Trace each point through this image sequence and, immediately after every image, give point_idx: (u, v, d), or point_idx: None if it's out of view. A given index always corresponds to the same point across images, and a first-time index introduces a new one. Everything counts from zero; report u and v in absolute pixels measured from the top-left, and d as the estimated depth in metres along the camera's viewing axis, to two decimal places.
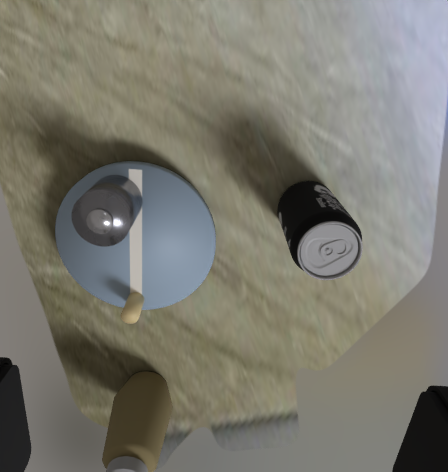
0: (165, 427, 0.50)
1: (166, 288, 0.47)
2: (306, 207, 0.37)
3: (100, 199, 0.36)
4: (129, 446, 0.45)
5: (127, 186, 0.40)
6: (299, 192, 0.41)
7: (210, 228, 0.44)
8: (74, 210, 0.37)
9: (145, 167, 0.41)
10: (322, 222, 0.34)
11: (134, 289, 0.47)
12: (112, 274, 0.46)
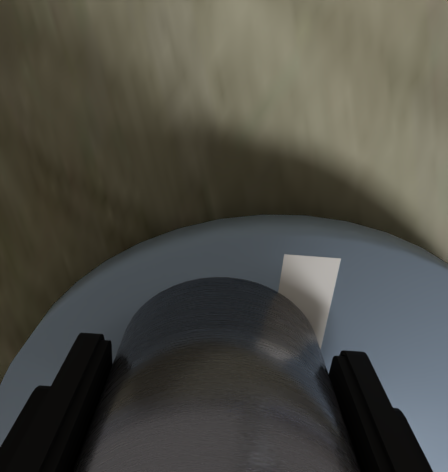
0: None
1: None
2: None
3: None
4: None
5: (303, 352, 0.08)
6: None
7: None
8: None
9: (357, 248, 0.10)
10: None
11: None
12: None
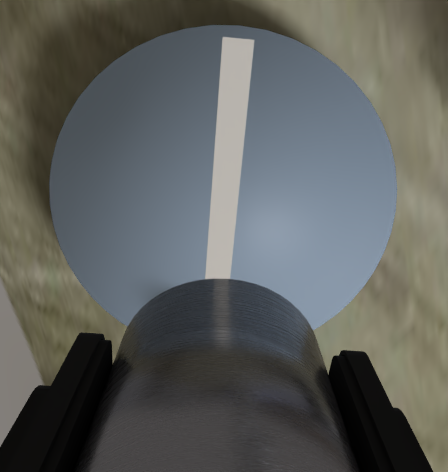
0: None
1: None
2: None
3: None
4: None
5: (302, 354, 0.08)
6: None
7: (389, 185, 0.20)
8: None
9: (263, 33, 0.17)
10: None
11: None
12: (168, 284, 0.23)
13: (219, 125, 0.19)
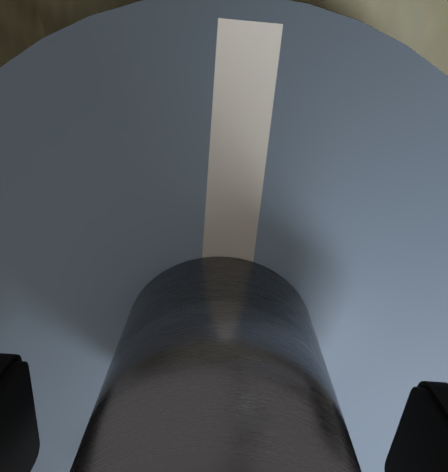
0: None
1: None
2: None
3: None
4: None
5: (295, 321, 0.09)
6: None
7: None
8: None
9: (301, 10, 0.08)
10: None
11: None
12: None
13: (212, 188, 0.10)
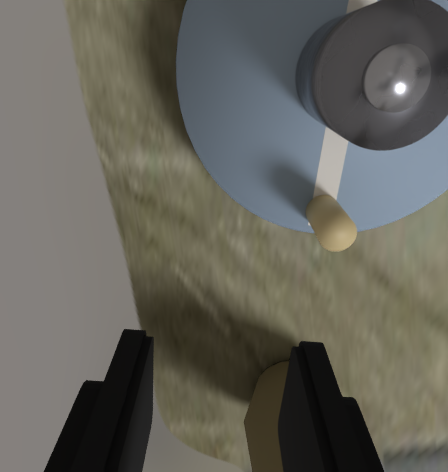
0: None
1: (388, 186, 0.23)
2: None
3: (408, 18, 0.14)
4: None
5: None
6: None
7: None
8: (334, 51, 0.15)
9: None
10: None
11: (322, 188, 0.23)
12: (284, 153, 0.22)
13: None
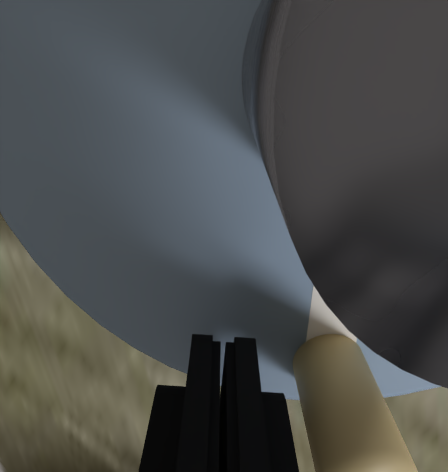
0: None
1: None
2: None
3: None
4: None
5: None
6: None
7: None
8: None
9: None
10: None
11: (326, 322, 0.11)
12: (236, 259, 0.10)
13: None
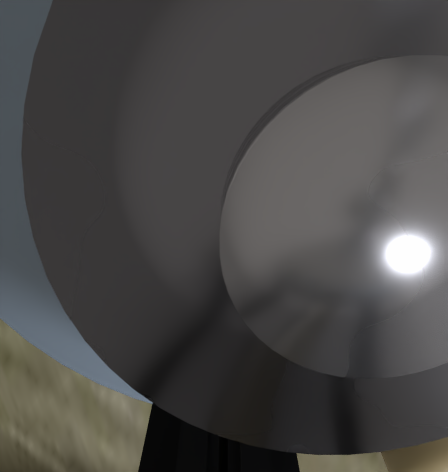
0: None
1: None
2: None
3: None
4: None
5: None
6: None
7: None
8: (66, 261, 0.03)
9: None
10: None
11: None
12: None
13: None
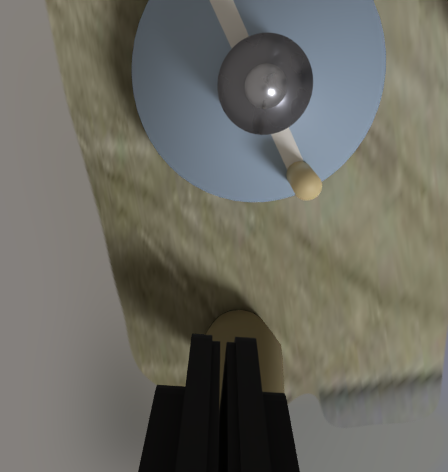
0: (283, 383, 0.34)
1: (334, 131, 0.30)
2: None
3: (250, 50, 0.22)
4: None
5: None
6: None
7: None
8: (221, 94, 0.23)
9: None
10: None
11: (289, 159, 0.31)
12: (249, 152, 0.30)
13: (220, 19, 0.27)
